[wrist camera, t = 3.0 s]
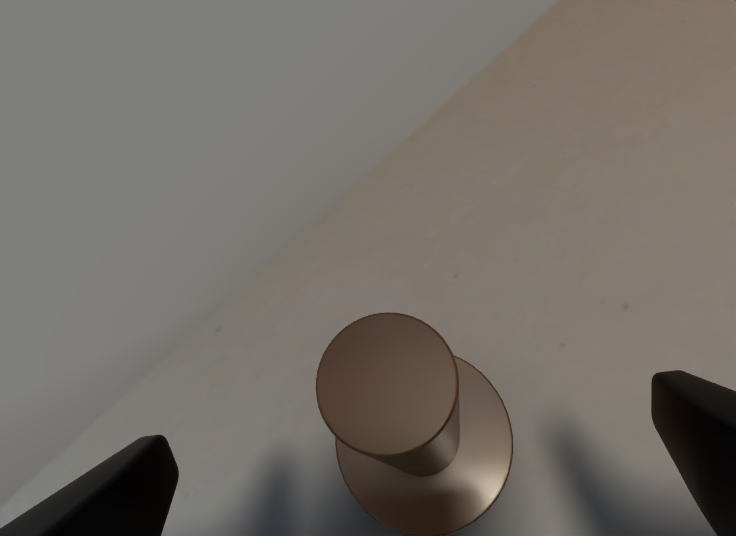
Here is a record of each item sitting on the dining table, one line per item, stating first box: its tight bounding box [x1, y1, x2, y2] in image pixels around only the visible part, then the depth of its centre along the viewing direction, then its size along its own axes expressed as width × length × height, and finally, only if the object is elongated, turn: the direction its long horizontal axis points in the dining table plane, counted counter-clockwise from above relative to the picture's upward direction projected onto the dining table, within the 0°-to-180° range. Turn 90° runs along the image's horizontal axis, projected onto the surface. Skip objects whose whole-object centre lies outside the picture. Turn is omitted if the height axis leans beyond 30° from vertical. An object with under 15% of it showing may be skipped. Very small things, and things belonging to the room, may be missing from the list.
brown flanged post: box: [316, 313, 513, 536], centre depth 12 cm, size 6×6×10 cm
